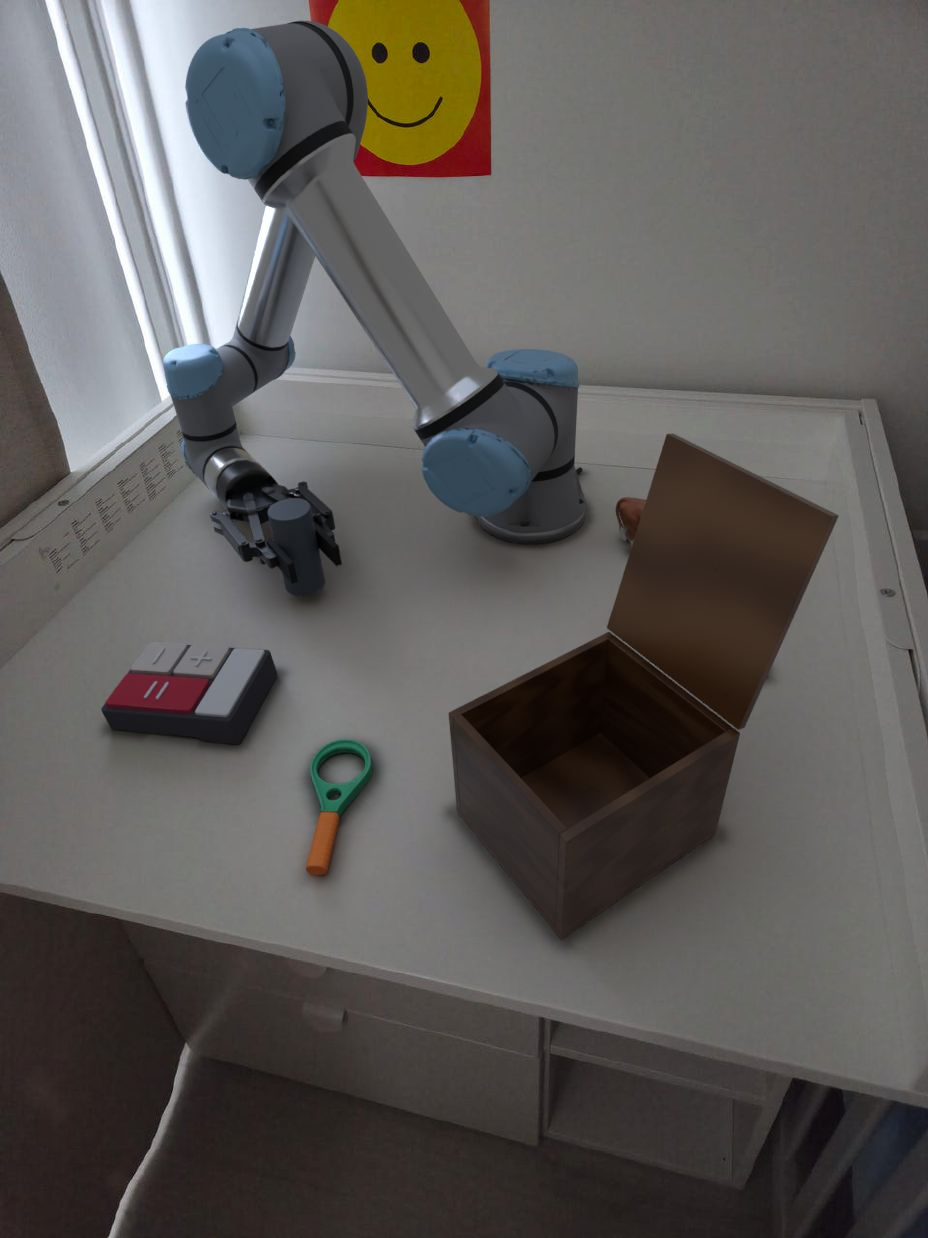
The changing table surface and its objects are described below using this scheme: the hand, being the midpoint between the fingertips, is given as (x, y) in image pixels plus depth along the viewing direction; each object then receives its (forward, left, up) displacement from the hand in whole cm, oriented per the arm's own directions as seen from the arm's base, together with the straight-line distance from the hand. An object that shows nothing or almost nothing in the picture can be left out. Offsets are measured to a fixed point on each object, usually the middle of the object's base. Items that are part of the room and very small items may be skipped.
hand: (315, 564), depth 95 cm
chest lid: (-17, +42, +15) cm, 47 cm away
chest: (-6, +42, -8) cm, 43 cm away
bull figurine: (-42, +15, -8) cm, 45 cm away
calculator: (+18, +5, -8) cm, 20 cm away
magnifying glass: (+12, +27, -8) cm, 30 cm away
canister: (0, -5, -6) cm, 8 cm away
